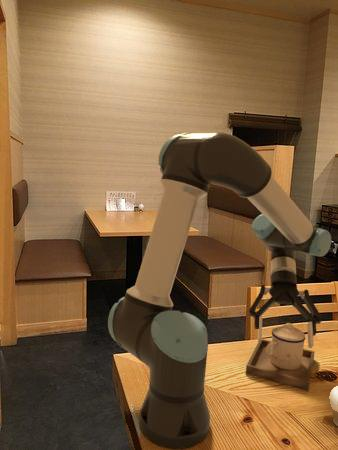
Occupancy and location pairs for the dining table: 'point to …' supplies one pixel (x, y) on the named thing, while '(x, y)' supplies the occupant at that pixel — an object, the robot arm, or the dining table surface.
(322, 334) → the dining table surface
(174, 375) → the robot arm
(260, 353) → the walnut tray
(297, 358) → the teacup with lid
